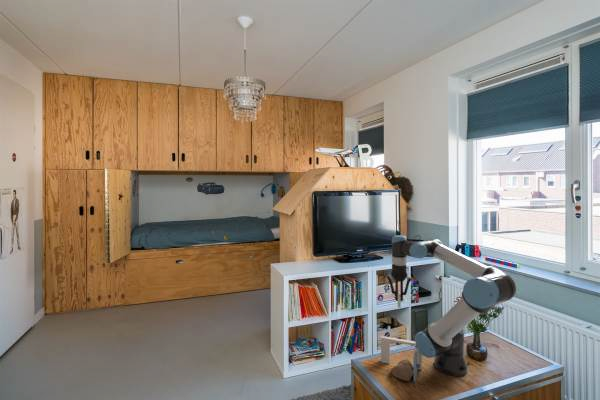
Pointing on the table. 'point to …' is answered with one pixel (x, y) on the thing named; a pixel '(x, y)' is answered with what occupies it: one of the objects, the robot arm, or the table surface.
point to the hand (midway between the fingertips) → (399, 306)
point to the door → (415, 364)
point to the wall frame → (386, 349)
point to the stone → (403, 370)
